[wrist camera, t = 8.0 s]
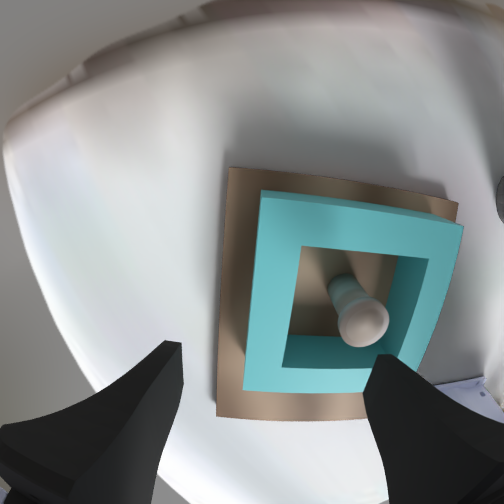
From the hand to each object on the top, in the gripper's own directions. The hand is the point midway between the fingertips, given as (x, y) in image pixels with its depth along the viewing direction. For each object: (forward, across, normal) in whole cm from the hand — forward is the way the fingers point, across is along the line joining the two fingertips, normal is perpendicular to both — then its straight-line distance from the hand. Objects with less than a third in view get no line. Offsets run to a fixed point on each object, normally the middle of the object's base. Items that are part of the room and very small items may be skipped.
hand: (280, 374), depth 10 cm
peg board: (+9, -4, +3) cm, 11 cm away
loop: (+8, -4, 0) cm, 9 cm away
